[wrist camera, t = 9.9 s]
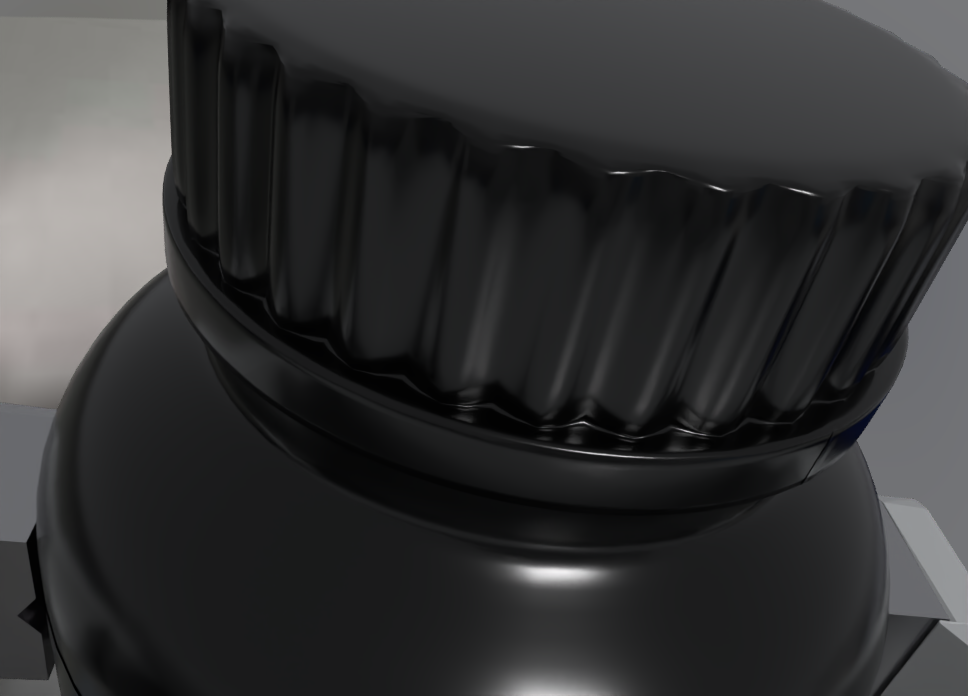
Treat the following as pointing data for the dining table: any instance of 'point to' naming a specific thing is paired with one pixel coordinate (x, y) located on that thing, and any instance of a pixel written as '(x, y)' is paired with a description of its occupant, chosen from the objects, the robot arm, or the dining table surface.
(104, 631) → the supplement bottle
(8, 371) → the dining table surface
